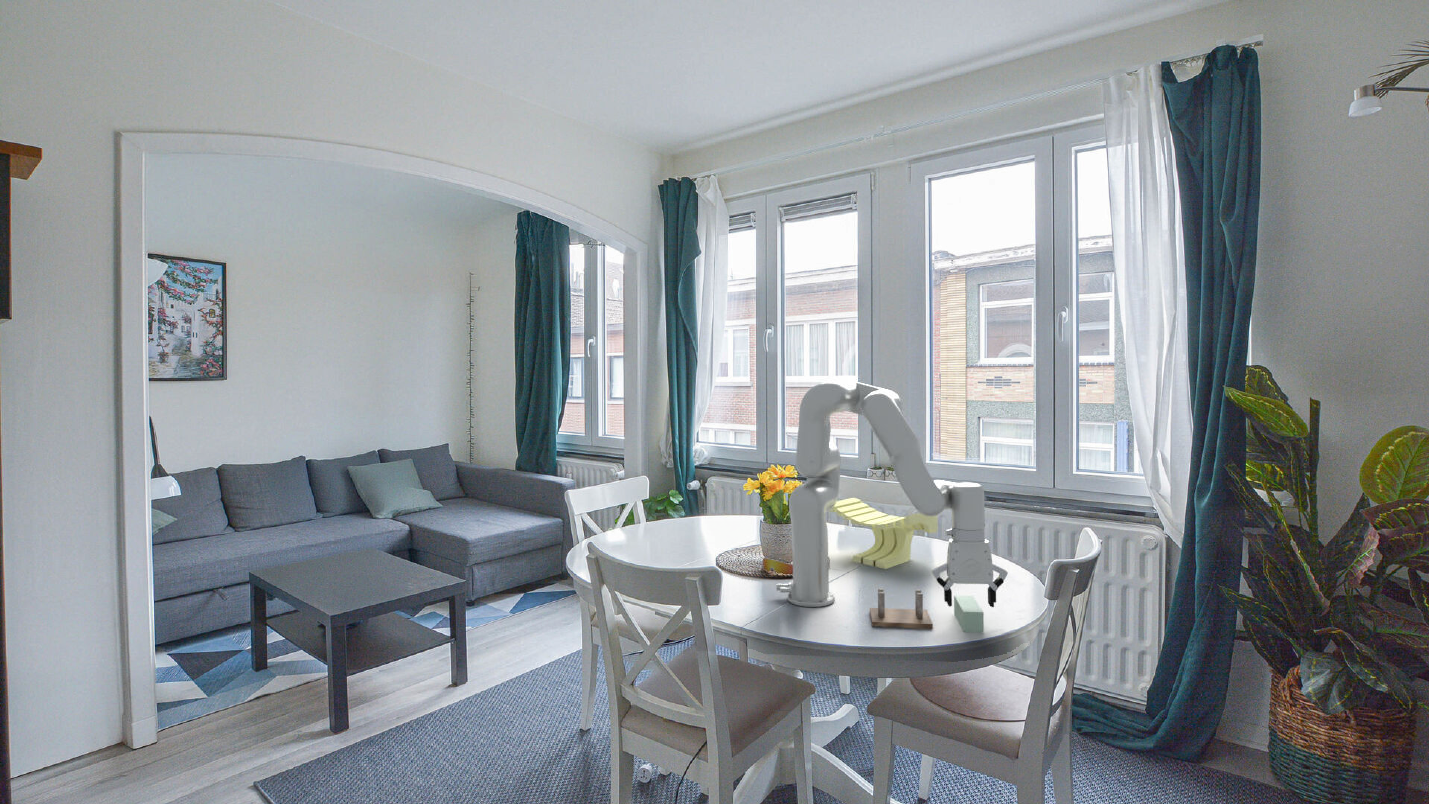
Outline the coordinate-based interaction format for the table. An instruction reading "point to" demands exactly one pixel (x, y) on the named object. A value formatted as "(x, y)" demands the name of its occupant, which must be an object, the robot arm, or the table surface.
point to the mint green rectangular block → (968, 614)
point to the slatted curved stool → (885, 532)
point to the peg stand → (901, 614)
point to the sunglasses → (777, 566)
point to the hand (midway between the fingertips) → (970, 605)
